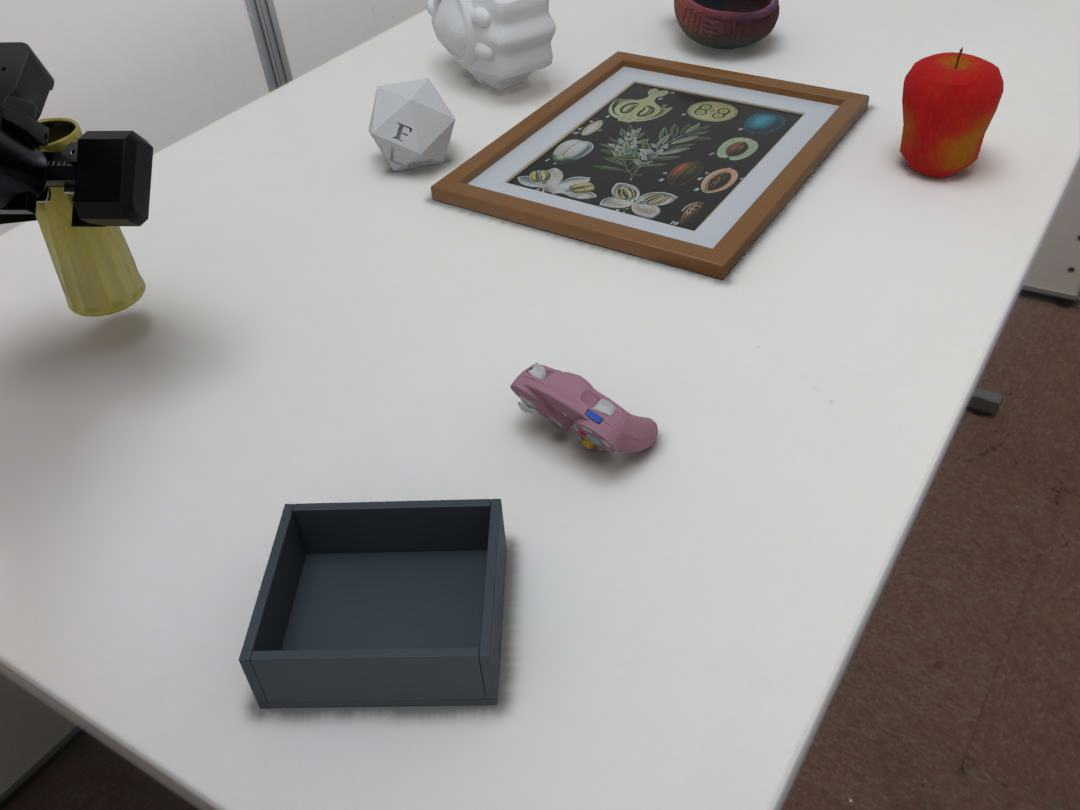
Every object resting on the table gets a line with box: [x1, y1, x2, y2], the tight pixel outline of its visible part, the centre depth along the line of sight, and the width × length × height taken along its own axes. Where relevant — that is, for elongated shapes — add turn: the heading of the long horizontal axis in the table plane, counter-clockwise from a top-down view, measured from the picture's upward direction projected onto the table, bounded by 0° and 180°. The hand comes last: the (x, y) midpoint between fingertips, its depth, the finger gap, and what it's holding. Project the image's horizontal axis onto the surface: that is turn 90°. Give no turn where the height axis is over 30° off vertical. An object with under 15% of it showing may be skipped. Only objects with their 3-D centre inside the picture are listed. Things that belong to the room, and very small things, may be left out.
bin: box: [238, 498, 508, 709], centre depth 56 cm, size 13×11×4 cm
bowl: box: [673, 0, 781, 51], centre depth 121 cm, size 16×13×8 cm
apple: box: [899, 46, 1005, 179], centre depth 92 cm, size 9×8×12 cm
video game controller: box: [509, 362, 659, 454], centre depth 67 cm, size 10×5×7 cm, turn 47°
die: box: [367, 77, 456, 173], centre depth 100 cm, size 8×9×10 cm
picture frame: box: [430, 50, 870, 280], centre depth 101 cm, size 31×2×38 cm
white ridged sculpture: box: [426, 0, 557, 90], centre depth 113 cm, size 11×18×16 cm, turn 33°
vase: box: [34, 117, 146, 318], centre depth 75 cm, size 6×6×14 cm
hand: (85, 212), depth 77 cm, fingers closed on vase, 5 cm apart
